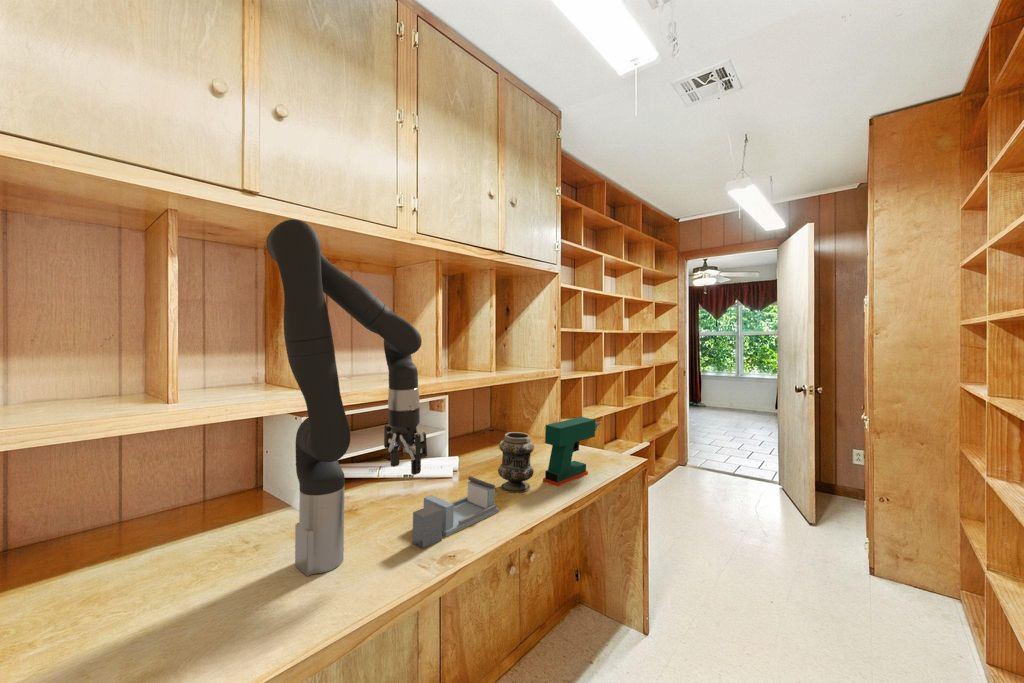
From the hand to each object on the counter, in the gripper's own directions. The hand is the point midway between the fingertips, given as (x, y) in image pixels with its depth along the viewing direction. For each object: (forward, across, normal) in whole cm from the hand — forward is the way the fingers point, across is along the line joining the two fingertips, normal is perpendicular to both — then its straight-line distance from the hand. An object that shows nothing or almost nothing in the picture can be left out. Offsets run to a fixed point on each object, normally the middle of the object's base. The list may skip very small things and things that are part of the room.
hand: (405, 469), depth 107 cm
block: (+18, +5, +2) cm, 19 cm away
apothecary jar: (+20, -1, +46) cm, 50 cm away
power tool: (+21, +6, +72) cm, 76 cm away
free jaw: (+18, +1, +26) cm, 31 cm away
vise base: (+19, +1, +18) cm, 26 cm away
